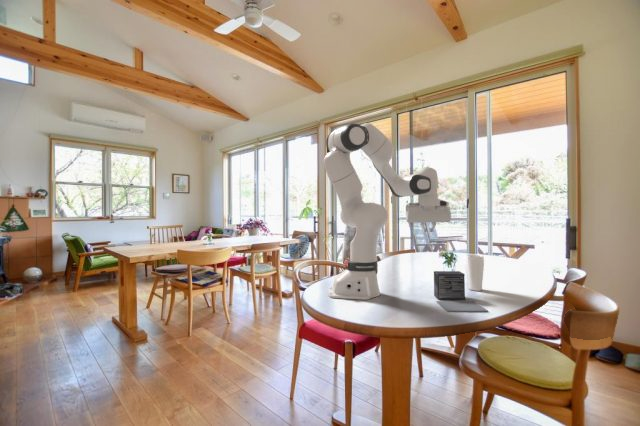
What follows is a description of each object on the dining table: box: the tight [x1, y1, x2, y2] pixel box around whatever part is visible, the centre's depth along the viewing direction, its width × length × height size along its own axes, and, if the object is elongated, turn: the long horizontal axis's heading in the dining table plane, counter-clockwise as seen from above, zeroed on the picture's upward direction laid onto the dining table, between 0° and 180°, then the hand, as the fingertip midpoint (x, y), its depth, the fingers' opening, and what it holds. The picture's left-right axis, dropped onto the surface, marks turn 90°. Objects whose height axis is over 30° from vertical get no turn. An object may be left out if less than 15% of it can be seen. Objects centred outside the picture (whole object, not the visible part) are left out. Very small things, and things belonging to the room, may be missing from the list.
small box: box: [433, 270, 466, 301], centre depth 123 cm, size 11×6×10 cm, turn 84°
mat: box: [436, 300, 489, 313], centre depth 112 cm, size 14×11×1 cm
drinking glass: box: [466, 254, 485, 292], centre depth 135 cm, size 7×7×15 cm
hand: (428, 232), depth 143 cm, fingers closed
